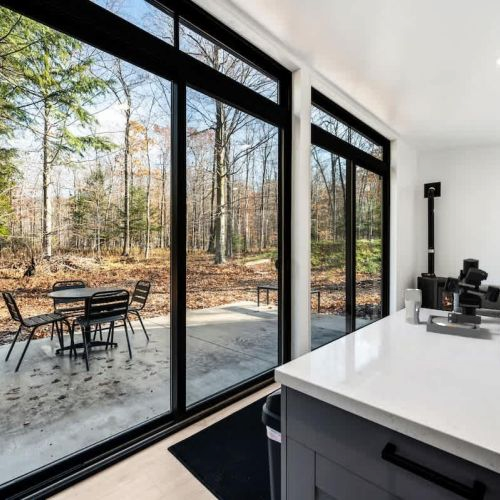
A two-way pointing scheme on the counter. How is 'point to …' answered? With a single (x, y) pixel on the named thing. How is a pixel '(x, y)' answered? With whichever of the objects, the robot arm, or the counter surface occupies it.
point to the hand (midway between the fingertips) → (472, 295)
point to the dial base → (452, 329)
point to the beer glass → (412, 305)
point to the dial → (458, 320)
